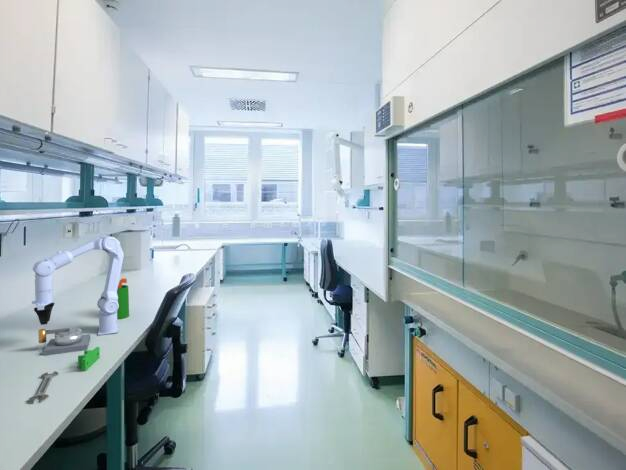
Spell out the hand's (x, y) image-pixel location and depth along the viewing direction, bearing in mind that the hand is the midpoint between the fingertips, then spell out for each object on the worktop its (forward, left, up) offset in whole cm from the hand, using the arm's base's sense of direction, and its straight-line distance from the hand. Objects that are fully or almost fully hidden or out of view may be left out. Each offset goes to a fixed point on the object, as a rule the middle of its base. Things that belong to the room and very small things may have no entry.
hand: (45, 322), depth 144 cm
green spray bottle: (-31, +26, -10) cm, 42 cm away
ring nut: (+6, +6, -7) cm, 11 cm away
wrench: (+41, +7, -10) cm, 42 cm away
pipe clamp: (+27, +17, -10) cm, 34 cm away
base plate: (+6, +9, -9) cm, 14 cm away
